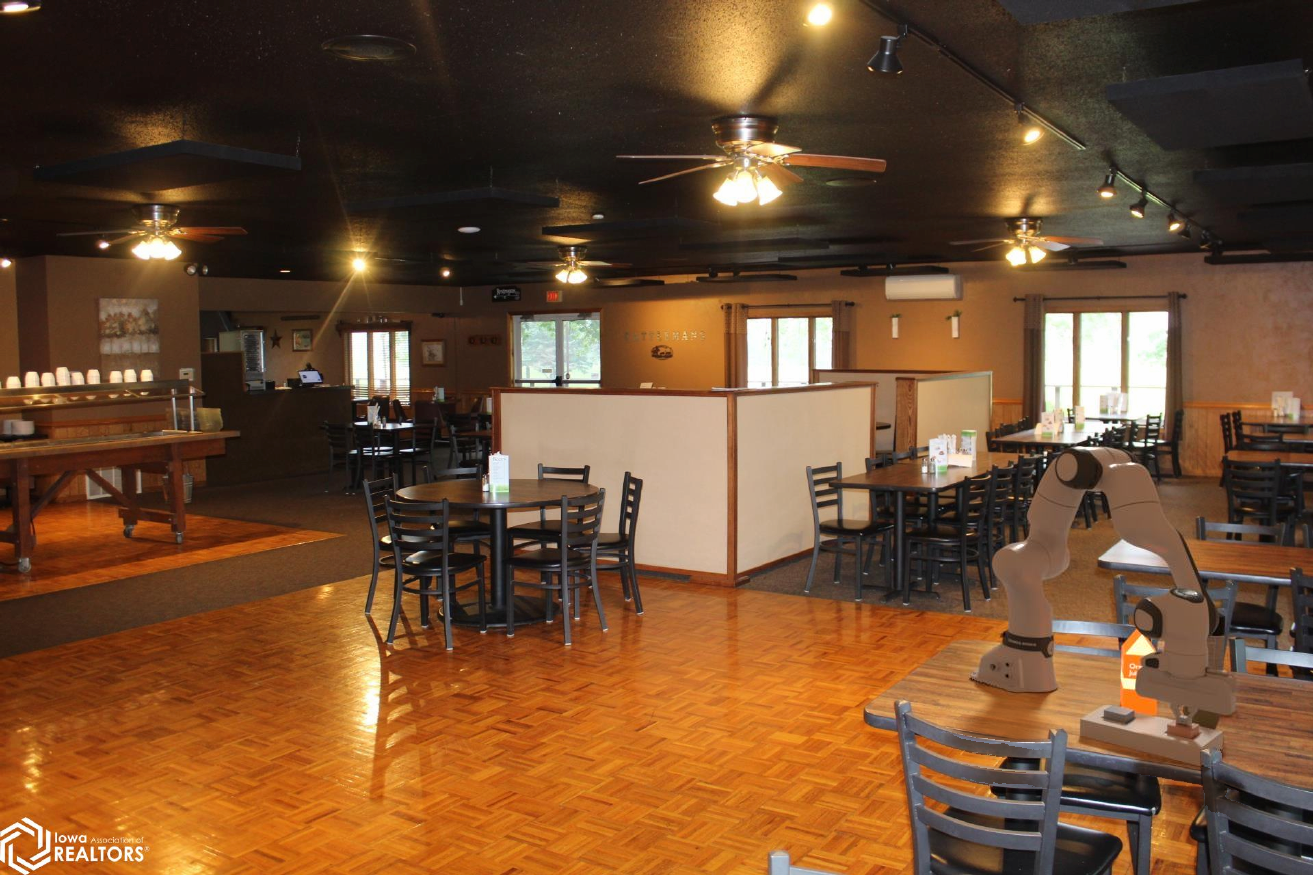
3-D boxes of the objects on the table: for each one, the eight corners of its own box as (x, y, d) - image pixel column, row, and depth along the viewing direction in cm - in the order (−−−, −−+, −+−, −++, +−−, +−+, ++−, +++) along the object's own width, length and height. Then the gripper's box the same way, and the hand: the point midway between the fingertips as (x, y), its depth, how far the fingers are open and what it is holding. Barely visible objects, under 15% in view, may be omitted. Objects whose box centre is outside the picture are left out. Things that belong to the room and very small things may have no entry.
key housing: (1079, 735, 240) (1080, 718, 240) (1105, 720, 250) (1105, 704, 250) (1200, 766, 222) (1200, 747, 222) (1222, 748, 232) (1222, 731, 231)
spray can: (1216, 684, 277) (1218, 610, 276) (1227, 692, 271) (1230, 617, 269) (1190, 684, 278) (1192, 610, 277) (1200, 692, 271) (1203, 616, 270)
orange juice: (1122, 712, 256) (1124, 632, 255) (1119, 701, 265) (1121, 623, 263) (1157, 715, 254) (1159, 635, 252) (1153, 704, 262) (1155, 626, 261)
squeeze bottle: (1174, 722, 249) (1177, 648, 247) (1207, 721, 249) (1209, 647, 248) (1195, 734, 241) (1197, 658, 239) (1228, 733, 241) (1230, 657, 240)
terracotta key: (1166, 742, 231) (1167, 724, 231) (1174, 736, 234) (1175, 719, 234) (1190, 747, 227) (1191, 730, 227) (1198, 742, 231) (1199, 724, 231)
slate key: (1103, 726, 241) (1103, 709, 241) (1112, 721, 244) (1112, 704, 244) (1125, 732, 237) (1125, 715, 237) (1134, 726, 241) (1134, 709, 241)
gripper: (1241, 669, 224) (1239, 732, 225) (1143, 651, 239) (1142, 710, 240) (1232, 676, 220) (1230, 739, 221) (1132, 657, 235) (1131, 717, 236)
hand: (1183, 724), depth 231 cm, fingers closed, pressing on terracotta key
